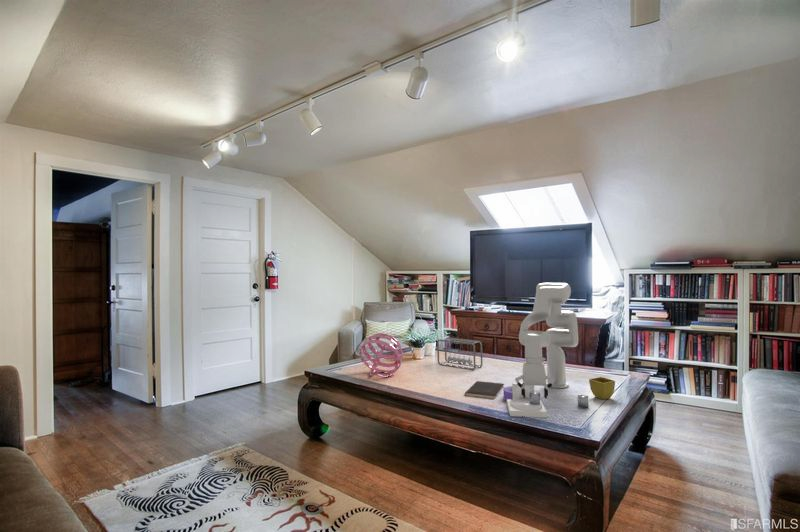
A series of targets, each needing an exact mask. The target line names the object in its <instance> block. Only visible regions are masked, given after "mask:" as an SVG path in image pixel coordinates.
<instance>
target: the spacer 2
mask: <svg viewBox="0 0 800 532" xmlns="http://www.w3.org/2000/svg"><path fill="white" fill-rule="evenodd" d="M589 406H590V405H589V396H588V395H586V394H578V395H577V407H578V408H580V409H589Z"/></svg>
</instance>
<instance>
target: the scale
mask: <svg viewBox="0 0 800 532" xmlns="http://www.w3.org/2000/svg"><path fill="white" fill-rule="evenodd" d="M520 383H521V384H522V383H523V382H520ZM511 386H512V390H513V400H512V399H507V401H506V406H507V410H508V414H509V416H510V417H522V416H523V417H524V416H525V417H527V418H548V410H547V409H546V407H545V405H544V404H543V401H542V400H541V399H540V405H532V404H530V392H531V391H535V385H526V386H525V398H524V397H523V395H522V394H521V388H520V387H519V386H518V384H517V383H516V382H512V383H511Z"/></svg>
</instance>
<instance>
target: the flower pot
mask: <svg viewBox="0 0 800 532" xmlns="http://www.w3.org/2000/svg"><path fill="white" fill-rule="evenodd" d="M588 382H589V387H590V391H591V393H592V395H593V396H594V397H595V398H597V399H599V400H600V399H601V400H606V399H611V397H612V396H613V394H614V393H615V389H616V388H615V387H616V380H614V379H611V378H606V377H602V376H598V377H594V378H589V379H588Z"/></svg>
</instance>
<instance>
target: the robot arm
mask: <svg viewBox="0 0 800 532" xmlns="http://www.w3.org/2000/svg"><path fill="white" fill-rule="evenodd" d="M535 289H536V290H535V297H534V302H533V307H532V308H533V309H532V312H530V313H529V314H528V315H526V317H524V319H523V321H521V324H520V328H519V333H518V340H519V343H520V345H522V346H524V357H525V359H524V362H523V364H522V374H521V375H519V376H518V377H515V378H514V380H515V383H517V384H518V386H519V387H520V388H521V394H522V395H523V397H524V398H525V386H526V385H534V386H540V387H541V386H542V387H544V388H543V395H544V398H545V399H548V397H549V389H550V388H553V389H567V388H569V387H570V384H569V383H568V382H567V378H566V376H567V375H566V355H565V352H564V350H563V348H562V347H566V348H575V347H577V346H578V345H579V328H578V319H577V318H578V317H577V314H576V313H575V311H572V310H563V309H562V304H564V303H566V302H567V301H568V300H569V299H570V297H571V293H572V289H571V286H570V284H568V283H566V282H541V283H538V284H537V285H536V287H535ZM543 321H545V322H546V325H547V326H548V327H550V328H549V329H546V331H544V330H533V329H532V330H531V329H530V327H531V326H533V325H535V324H537V323H540V322H543ZM543 348H546V357H543ZM545 361H546V367H545V364H544V362H545ZM546 368H547V369H546ZM546 370H547V371H546ZM546 373H547V375H546ZM521 380H522V382H520V381H521ZM521 383H522V384H521Z"/></svg>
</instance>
